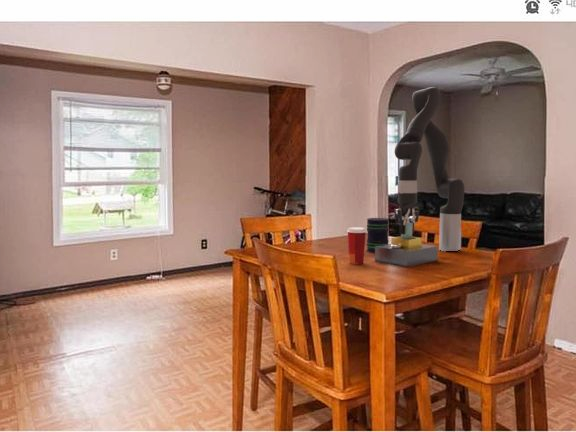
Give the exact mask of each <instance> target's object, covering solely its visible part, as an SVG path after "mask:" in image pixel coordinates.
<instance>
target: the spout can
mask: <svg viewBox="0 0 576 432" xmlns="http://www.w3.org/2000/svg"><path fill="white" fill-rule="evenodd" d="M412 228H413V223H409V222H408V219H407V220H406V223H405V234H400V236H401V239H407V240H409V239H412V237H413V233H412Z"/></svg>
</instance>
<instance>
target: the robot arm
mask: <svg viewBox="0 0 576 432" xmlns="http://www.w3.org/2000/svg"><path fill="white" fill-rule="evenodd" d="M411 98H412V99H411V101H412V105H413V109H414V111H415V114H416V115H415V116H414V117H413V118H412V120H411V121H410V123H409V124H408V127H407V129H406V132H405V134H404V135H403V136H402V137H401V138H400V139H399V141H398V142H397V143H396V144H395V148H394V155H395V157H396V158H397V159H398V160H401V161H405V160H407V161H408V160H410V161H409V163H408V164H406V165H402V166H400V167H399V169H398V184H397V203H398V204H399V207H398V208H394V210H393V212H394V213H393V214H394V220H395V224H398V225H399V234H400V235H401V234H405V223H406V220H407V222H408V223H413V228H412V234H414V233H415V224H416V223H418V222H419V218H420V217H419V216H420V210H421V208H420V207H416V204H417V203H418V180H417V179H418V175H417V174H418V168H419V164H420V163H419V162H420V161H421V157H422V154H423V147H422V144H421V142H422V140H423V138H424V141H425V145H426V149H427V152H428V156H429V160H430V163H431V167H432V172H433V175H434V181H435V182H434V183H435V189H436V192H437V194H438V196H439V197H440V198H442V199H447V203H446V204H445V205H443V206H440V207H439V209H440V210H439V242H438V243H439V244H438V250H439V251H440V250H441V252H446V251H458V250H460V249H461V250H462V210H463V207H464V199H465V184H464V182H463V180H462V179H460V178H454V177H453V178H450V177H449V175H448V174H449V173H448V171H447V163H448V160H449V156H450V151H451V150H450V146H449V145H450V144H449V141H448V138H447V134H445V131H443V130H442V129H441V128H440V127H439V126H438V125H437V124H435V122H434V121H433V120H432V118H433V117H434V116H435V113H436V111H438V108H439V107H440V104H441V101H442V95H441V91H440V89H439V88H438V87H437V86H431V87H427V88H424V89H419V90H416V91H414V92H413V93H412V97H411ZM461 250H460V251H461ZM458 252H459V251H458Z"/></svg>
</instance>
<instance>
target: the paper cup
mask: <svg viewBox="0 0 576 432" xmlns="http://www.w3.org/2000/svg"><path fill="white" fill-rule="evenodd" d="M346 232H347V241H348V242H347V243H348V246H347V248H348V262H349V264H351V265H363V264H364V259H365V247H366V246H365V245H366V233H367V229H366V228H365V227H357V226H356V227H355V226H354V227H348V228H347V230H346Z"/></svg>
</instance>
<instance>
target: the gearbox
mask: <svg viewBox="0 0 576 432" xmlns="http://www.w3.org/2000/svg"><path fill="white" fill-rule="evenodd" d="M390 242H391V244H390V243H388V245H382V246H375V253H374V261H375V262H379V263H383V264H384V263H385V264H389V265H394V266H399V267H403V268H404V267H405V268H409V267H413V266H419V265H422V264H423V265H424V264H428V263H433V262H437V261H438V252H439V251H438V250H439V245H430V244H424V243H423V238H422V237H417V236H412V239H409V240H407V239H401V235H400V236H396V237H391V240H390Z"/></svg>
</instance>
